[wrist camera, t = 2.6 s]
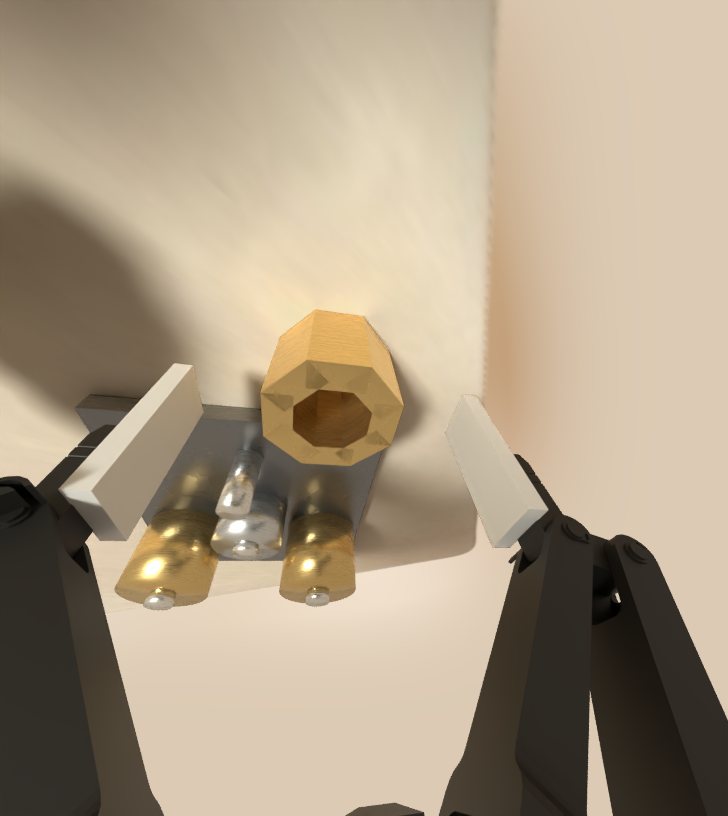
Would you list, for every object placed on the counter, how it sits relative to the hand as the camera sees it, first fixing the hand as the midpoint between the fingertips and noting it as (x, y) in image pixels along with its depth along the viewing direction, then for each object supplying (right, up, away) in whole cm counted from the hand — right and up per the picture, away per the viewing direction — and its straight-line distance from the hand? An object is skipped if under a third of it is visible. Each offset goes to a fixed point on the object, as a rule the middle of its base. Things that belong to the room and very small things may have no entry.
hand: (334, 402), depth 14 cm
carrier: (-8, -8, +10) cm, 15 cm away
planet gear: (0, +2, +2) cm, 3 cm away
